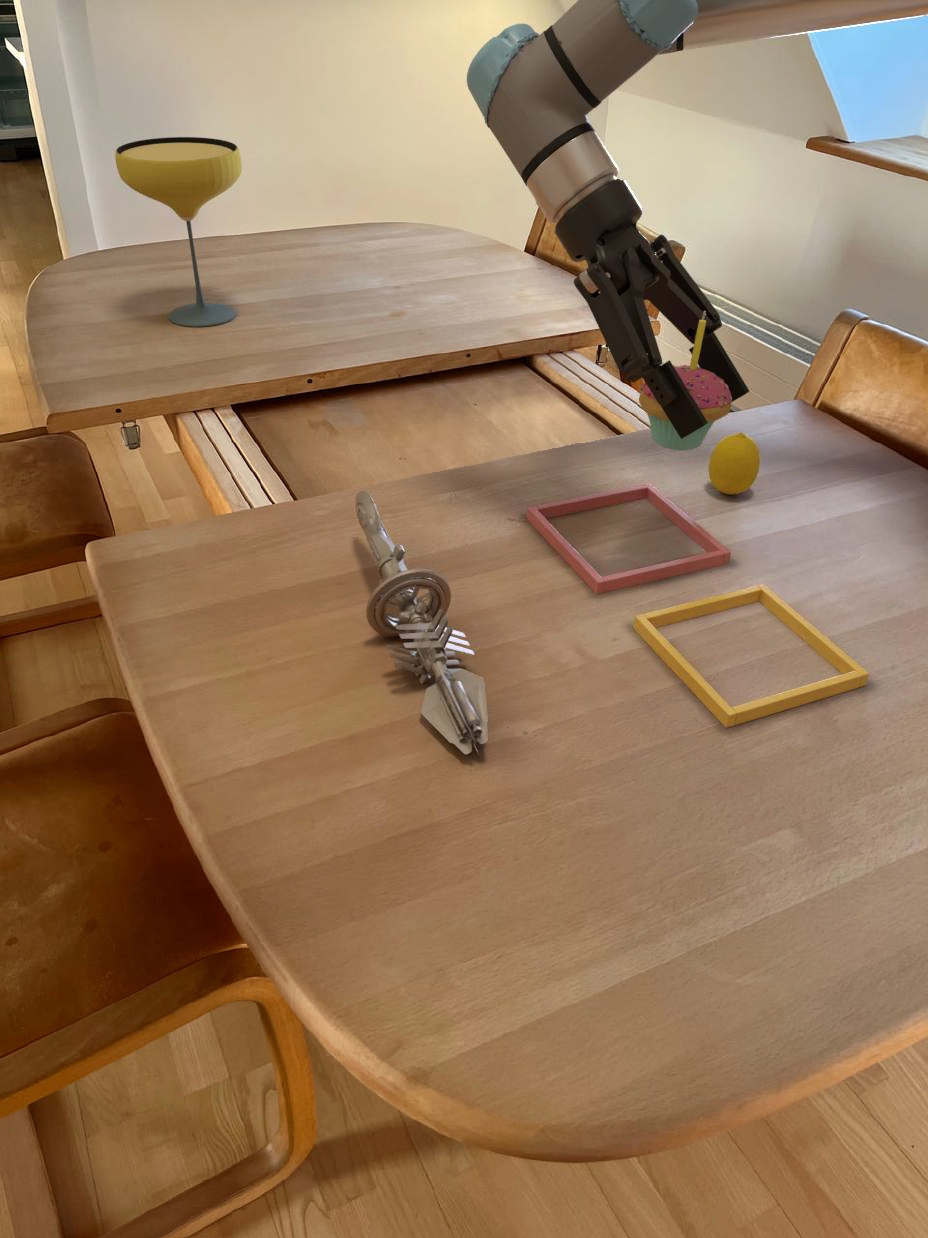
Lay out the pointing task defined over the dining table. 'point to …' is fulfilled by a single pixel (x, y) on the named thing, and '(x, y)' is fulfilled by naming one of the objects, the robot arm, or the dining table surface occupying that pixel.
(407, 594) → the spaceship
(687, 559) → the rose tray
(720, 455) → the lemon
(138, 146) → the cocktail glass
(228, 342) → the dining table surface
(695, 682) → the yellow square frame
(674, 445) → the cupcake
